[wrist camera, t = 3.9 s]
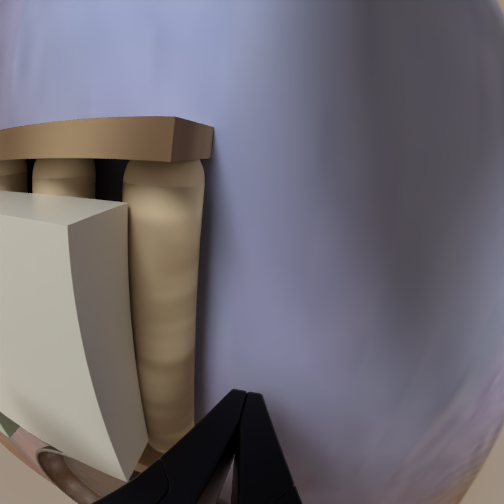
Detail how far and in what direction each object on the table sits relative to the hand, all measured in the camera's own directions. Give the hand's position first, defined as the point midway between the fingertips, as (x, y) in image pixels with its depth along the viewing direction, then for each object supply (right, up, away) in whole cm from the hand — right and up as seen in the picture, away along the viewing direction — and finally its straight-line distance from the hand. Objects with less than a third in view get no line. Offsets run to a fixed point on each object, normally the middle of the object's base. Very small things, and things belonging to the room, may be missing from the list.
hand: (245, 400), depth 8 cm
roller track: (-14, +3, +4) cm, 15 cm away
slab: (-12, +2, +2) cm, 12 cm away
